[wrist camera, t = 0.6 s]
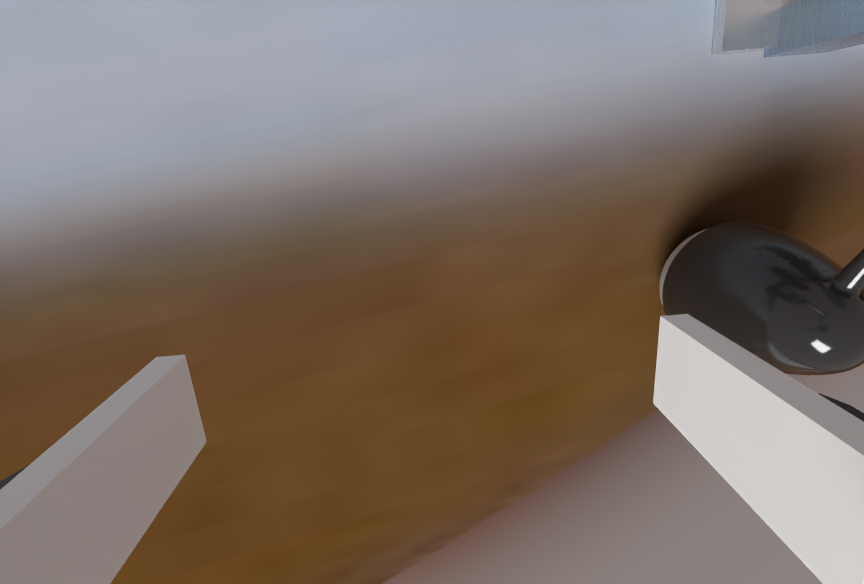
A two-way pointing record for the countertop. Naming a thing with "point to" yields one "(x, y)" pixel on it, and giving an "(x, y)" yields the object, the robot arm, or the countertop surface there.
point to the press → (787, 26)
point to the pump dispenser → (770, 296)
